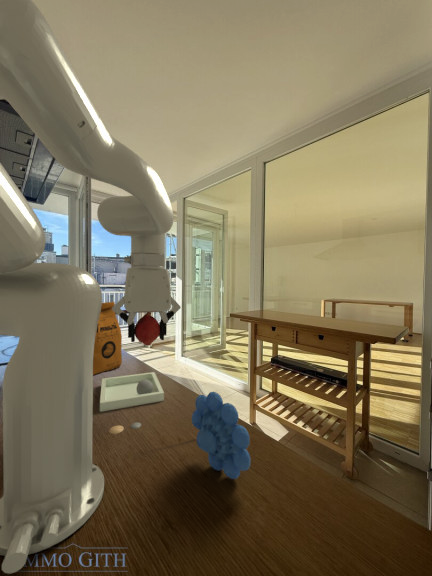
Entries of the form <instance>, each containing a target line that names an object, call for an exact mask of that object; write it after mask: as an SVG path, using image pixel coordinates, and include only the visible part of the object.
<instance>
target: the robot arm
mask: <svg viewBox="0 0 432 576" xmlns="http://www.w3.org/2000/svg"><path fill="white" fill-rule="evenodd" d="M58 40H59V39H58V38H57V36H56V35H55V33H54V30H53V29H52V27H51V25H50V24H49V23H48V21H47V19H46V17H45V16H44V14H43V13H42V11H41V9H39V7H38V6H37V5H36V4H35V2H34V1H33V0H0V100H5V101H6V102H8V103H9V106H11V108H13V109H14V111H15V112H16V113H17V114H18V116H20V118H21V119H22V120H23V121H24V123H25V124H27V127H29V128H30V130H31V131H32V132H33V133H34V135H35V136H36V137H37V139H39V141H40V142H41V144H42V145H43V146H44V147H45V148H46V149H47V151H49V153H50V154H51V156H53V158H54V159H55V160H56V162H57V163H58V164H59V165H60V166H61V167H63V168H64V169H66V170H68V171H71V172H73V173H76V174H78V175H81V176H83V177H86V178H89V179H92V180H96V181H99V182H103V183H105V184H107V185H108V184H109V185H111V186H114V187H117V188H118V189H121V190H123V191H125V192H127V193H128V194H130V195H123V196H121V195H120V196H111V197H108V198H106V199H103V200H102V201H101V202H100V203H99V205H98V207H97V211H96V213H97V220H98V222H99V224H100V225H101V227H102V228H103V229H104V230H105V231H107V232H108V233H110V234H111V235H115V236H118V237H119V236H120V237H121V236H122V237H130V255H129V256H124V257H123V260H124V261H123V263H126V264H129V265H130V267H128V268H127V270H126V276H125V280H124V281H125V282H124V284H125V285H124V295H123V297H121V298H120V299H119V300H118V301H117V302H116V303H115V305H114V306H113V307H112V310H113V311H114V312H115V315H116V316H119V318H120V319H122V320H123V321H124V322H125V323H126V324H127V338H128V339H129V338H130V341H131V343H134V342H135V341H136V340H135V339H136V336H135V326H136V323H135V322H134V321H135V318H136V315H137V313H139V314H140V313H141V314H143V313H145V314H146V313H147V312H151V313H158V314H159V317H160V320H159V321H158V323H159V325H160V335H159V337H158V338H159V339H160V340H161V341H164V340H165V336H167V333H168V332H167V329H168V328H167V326H168V325H167V323H168V322H169V321H170V320H171V319H172V317H173V316H175V314H176V313H178V311H180V309H181V305H180V304H179V303H178V302H177V301H176V300H175V299H174V298H173V297H172V294H171V292H172V290H171V279H170V272H169V269H168V268H166V267H165V263H166V262H165V261H166V258H165V255H166V253H165V252H166V234H167V233H168V232H169V231H170V230H171V229H172V227H173V226H174V225H173V224H174V221H175V220H174V219H175V218H174V211H173V206H172V202H171V200H170V197H169V195H168V193H167V190H166V187H165V186H164V184H163V180H161V178H160V175H158V173H157V172H156V170H155V169H154V168H153V167H152V166H151V165H150V164H149V163H147V162H146V161H145V160H144V159H143V158H142V157H141V156H139V155H138V154H137V153H135V152H134V151H133V150H132V149H130V148H129V147H128V146H126V145H125V144H123V143H122V142H121V141H119V140H117V139H116V138H114V137H113V136H112V135H111V134H110V132H109V131H108V129H107V127H106V125H105V123H104V122H103V120H102V118H101V116H100V114H99V112H98V111H97V109H96V107H95V105H94V104H93V102H92V100H91V99H90V95H88V93H87V91H86V89H85V87H84V86H83V83H82V82H81V80H80V78H79V77H78V74H77V73H76V71H75V69H74V67H73V65H72V63H71V62H70V60H69V58H68V56H67V55H66V52H65V51H64V49H63V48H62V46H61V43H60V42H59V41H58ZM46 238H47V237H46V233H45V230H44V227H43V225H42V223H41V220H40V219H39V217H38V216H37V214H36V213H35V211H34V209H33V208H32V206H31V204H30V203H29V201H28V200H27V198H26V197H25V196H24V195H23V193H22V192H21V190H20V189H19V187H18V186H17V185H16V183H15V181H13V179H12V177H11V176H10V175H9V172H7V170H6V169H5V167H4V166H3V164H2V163H1V162H0V335H1V336H10V337H11V336H12V337H17V338H19V339H18V342H17V345H16V347H15V349H14V351H13V353H12V355H11V356H10V358H9V360H8V363H7V365H6V366H5V370H4V375H3V378H2V380H3V381H2V400H3V401H2V405H3V407H2V418H3V419H2V420H3V422H2V427H3V431H2V433H3V434H2V435H3V436H2V437H3V438H2V439H3V441H2V442H3V454H2V455H3V495H2V497H0V556H4V557H3V560H2V563H1V571H2V572H3V573H4V574H8V575H10V574H13V573H17V572H18V571H19V570H21V569H22V568H23V567H24V565H26V563H27V559H28V557H29V556H28V555H31V554H36V553H39V552H41V551H43V550H46V549H49V548H51V547H53V546H54V545H57V544H59V543H60V542H62V541H64V540H65V539H67V538H68V537H70V536H71V535H72V534H74V533H75V532H77V530H78V529H80V528H81V527H82V526H83V525H84V524H85V523H86V522H87V521H88V520H89V519H90V517H91V516H93V515H94V513H95V511H96V509H97V508H98V506H99V505H100V503H101V501H102V499H103V495H104V492H105V491H104V490H105V477H104V474H103V472H102V469H100V467H99V466H98V465H96V464H94V462H93V423H94V422H93V421H94V420H93V417H94V415H93V414H94V413H93V412H94V411H93V408H94V407H93V406H94V405H93V404H94V396H93V393H94V386H93V385H94V381H93V380H94V375H93V353H94V342H95V335H96V330H97V325H98V321H99V316H100V312H101V306H102V303H103V294H102V293H103V292H102V289H101V286H100V284H99V282H98V281H97V279H96V278H95V277H94V275H92V274H91V273H90V272H88V271H87V270H85V269H83V268H81V267H79V266H76V265H71V264H69V263H68V264H67V263H58V262H36V261H37V260H39V259H40V258H41V256H42V255H43V253H44V251H45V248H46V243H47V241H46V240H47V239H46ZM123 306H124V310H125V311H127V312H128V313H129V314H127V313H126V312H125V311H124V310H123V309H121V308H122V307H123ZM171 307H172V308H171Z"/></svg>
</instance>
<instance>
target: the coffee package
mask: <svg viewBox="0 0 432 576" xmlns="http://www.w3.org/2000/svg"><path fill="white" fill-rule="evenodd" d="M115 304H116V303H115V301H107V302H106V301H105V302H102V306H101V312H100V316H99V321H98V325H97V330H96V335H95V342H94V353H93V376H94V375H97V374H100V373H103V372H108V371H112V370H115V369H117V368H120V367H121V365H122V363H123V361H122V360H123V359H122V356H123V355H122V346H123V345H122V342H123V341H122V338H123V337H122V329H121V327H120V322H119V320H118V319H117V314H116V313H115V312H114V311H113V310H112V307H113V306H114V305H115Z"/></svg>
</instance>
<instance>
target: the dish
mask: <svg viewBox="0 0 432 576" xmlns="http://www.w3.org/2000/svg"><path fill="white" fill-rule="evenodd" d="M145 379H146V380H149V381H151V382H152V384H153V390H152V392H151V393H148V394H141V395H139V394H138V393H137V390H136V388H137V385H138V383H139V382H140V381H142V380H145ZM163 401H165V392H164V390H163V387H162V385H161V383H160V381H159V378H158V376H157V373H156V372H155V371H152V372H151V371H150V372H143V373H135V374H130V375H129V374H128V375H119V376H113V377H105V378H101V386H100V398H99V413H101V412H108V411H113V410H120V409H126V408H130V407H135V406H141V405H142V406H143V405H147V404H153V403H159V402H163Z"/></svg>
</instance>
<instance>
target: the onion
mask: <svg viewBox="0 0 432 576" xmlns="http://www.w3.org/2000/svg"><path fill="white" fill-rule="evenodd" d="M159 335H160V325H159V321H158V320H157V318H155V317H154V316H153V315H152V312H146V313H145V314H144V315H143V316H141V317H140V318H139V319H138V320H137V322H136V323H135V339H136V340H138V342H140V343H141V344H143V345H145V346H150V345H152V343H153V342H155V341H156V340H157V339H158V338H160V337H159Z"/></svg>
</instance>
